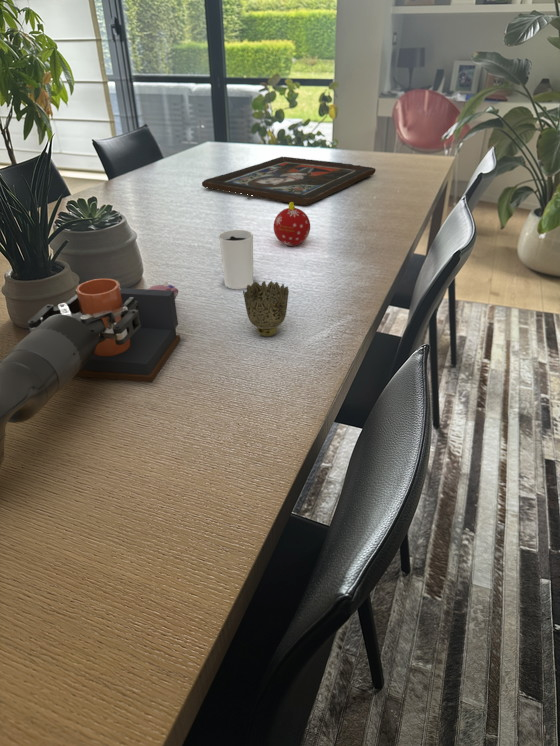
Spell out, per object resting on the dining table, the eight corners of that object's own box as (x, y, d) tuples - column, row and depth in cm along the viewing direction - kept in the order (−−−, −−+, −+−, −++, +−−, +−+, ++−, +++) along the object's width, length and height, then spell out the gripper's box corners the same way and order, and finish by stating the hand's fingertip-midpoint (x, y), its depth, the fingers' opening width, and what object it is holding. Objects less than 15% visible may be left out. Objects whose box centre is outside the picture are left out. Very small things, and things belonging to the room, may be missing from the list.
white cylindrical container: (217, 287, 110) (212, 239, 105) (231, 275, 115) (227, 228, 110) (247, 291, 108) (244, 242, 103) (260, 279, 113) (258, 231, 108)
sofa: (52, 374, 84) (37, 321, 79) (92, 333, 95) (80, 285, 90) (151, 382, 81) (141, 328, 77) (180, 340, 92) (173, 290, 87)
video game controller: (139, 334, 98) (146, 306, 93) (120, 318, 98) (127, 289, 94) (176, 312, 104) (185, 285, 100) (159, 298, 105) (167, 270, 100)
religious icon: (198, 191, 175) (197, 181, 173) (279, 164, 205) (279, 155, 204) (305, 209, 155) (305, 198, 153) (377, 176, 186) (377, 166, 184)
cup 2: (281, 346, 90) (279, 301, 85) (239, 340, 92) (236, 296, 87) (294, 325, 95) (294, 283, 91) (255, 320, 98) (252, 278, 93)
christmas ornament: (266, 246, 130) (265, 203, 124) (288, 236, 136) (287, 195, 130) (296, 253, 125) (295, 209, 120) (317, 242, 131) (317, 200, 126)
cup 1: (83, 354, 83) (68, 293, 77) (101, 336, 88) (88, 277, 82) (120, 357, 82) (108, 296, 76) (136, 338, 87) (125, 279, 81)
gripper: (97, 333, 66) (148, 280, 80) (-9, 326, 69) (58, 275, 82) (109, 385, 70) (156, 326, 84) (9, 376, 73) (70, 320, 86)
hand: (107, 301), depth 83 cm, fingers open, 8 cm apart
